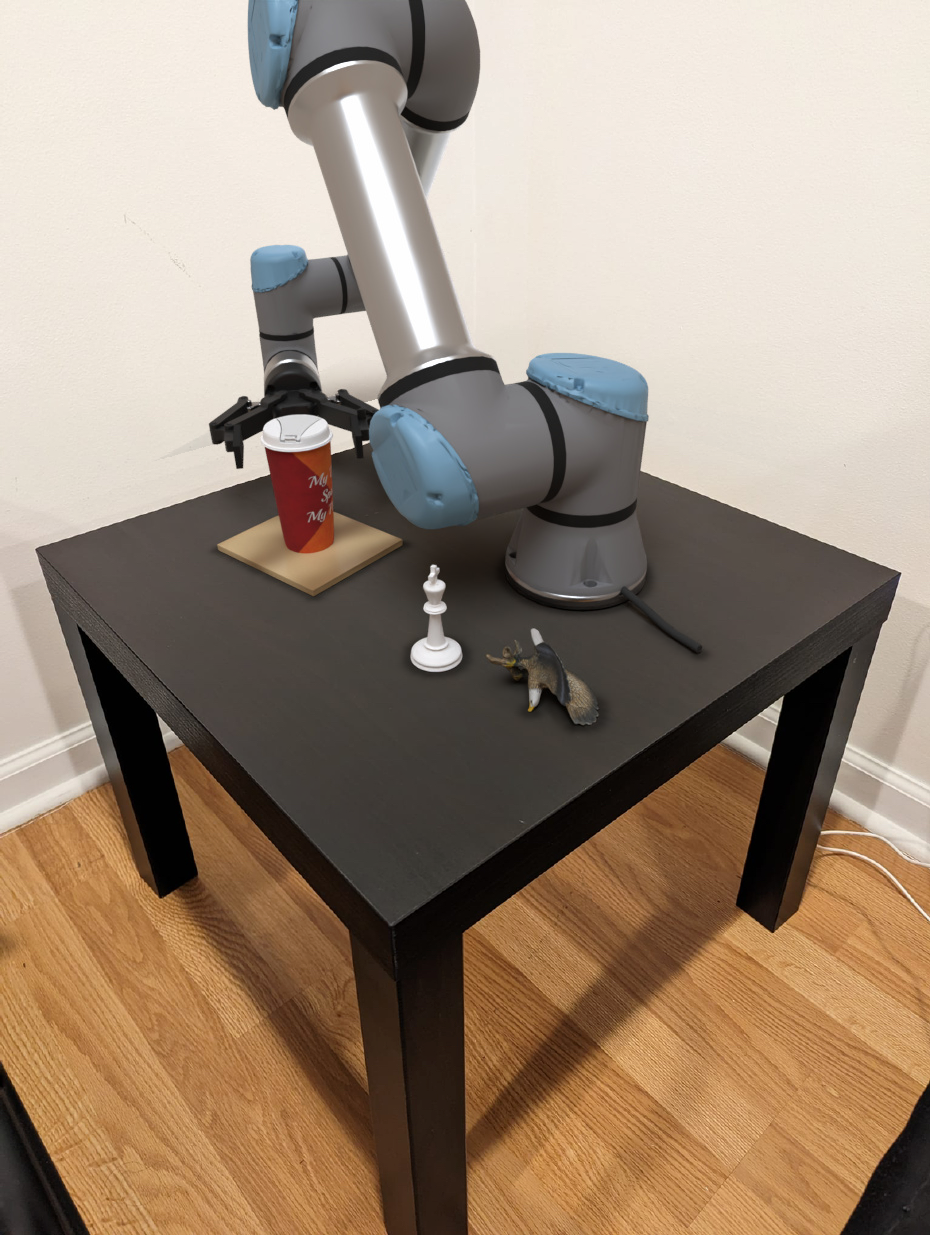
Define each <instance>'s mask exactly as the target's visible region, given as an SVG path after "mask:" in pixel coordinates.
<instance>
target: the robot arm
mask: <svg viewBox="0 0 930 1235" xmlns="http://www.w3.org/2000/svg"><path fill="white" fill-rule="evenodd" d="M247 48H248V59H249V68H250V74H251V80H252V85H253V88H254V92H255V96H256V97H257V100H258V101H259V102H260V103H261V105H262V106H264V107H265V108H270V109H272V110H274V111H275V110H279V108H283V110H284V112H285V115H286V119H287V121H288V124H289V127H290V130H291V132H292V133H293V135H294V136H295V138H297V139H298V140H299V141H301V142H302V143H304V144H306V145H308V146H311V147H313V150H314V154H315V156H316V159H317V163H318V165H319V168H320V172H321V176H322V178H323V181H324V184H325V187H326V190H327V193H328V197H329V200H330V203H331V206H332V209H333V212H334V215H335V219H336V221H337V224H338V228H339V231H340V234H341V237H342V241H343V243H344V244H343V245H344V246H345V250H346V252H347V254H346V255H338V256H330V257H329V256H328V257H320V258H312V259H311V258H310V259H309V258H308V257H307V253H306V251H305V249H304V248H302V247H301V246H298V245H296V244H295V245H294V244H271V245H265V246H261V247H258V248H257V249H255V250H254V251H253V252H252V253H251V255H250V259H249V261H250V263H249V264H250V276H251V277H250V278H251V291H252V293H253V294H252V295H253V300H254V306H255V312H256V319H257V324H258V325H257V326H258V332H259V334H258V337H259V344H260V351H261V358H262V359H261V360H262V366H263V368H262V369H263V397H262V398H261V399H260V401H252V400H251V399H249V397H248V396H246V395H242V396H239V397H238V398H237V401H236V403H234V404H233V405H231V406H230V407H229V408H227V409H226V410H225V411H223V412H222V413H221V414H220V415H218V416H217V417H215V418H214V419H212V420H211V421H210V422H208V428H209V434H210V439H211V444H212V445H217V446H218V445H221V444H222V443H223V444H224V447H225V451H226V453H233V458H234V463H235V469H236V470H241V469H244V456H245V454H244V453H245V445H244V443H245V441H246V440H249V439H250V438H252V437H254V436H255V435H257V434H260V433H261V432H263V428H264V426H265V424H266V423H267V422H269V421H271V420H273V419H275V418H279V417H283V416H288V415H313V416H317V417H320V418H322V419H324V420H326V422H327V423H328V426H332V427H335V428H338V429H341V430H344V431H347V432H350V433H351V439H352V442H353V447H354V451H355V455H356V459H364V458H365V457H364V456H365V455H364V444H363V442H369V445H370V446H371V448H372V452H371V457H372V462H373V465H374V468H375V471H376V474H377V476H378V479H379V481H380V483H381V486H382V488H383V490H384V492H385V493H386V495H387V497H388V499H389V500H390V502H391V503H392V505H393V507H394V508H395V509H396V510H397V511H398V513H399V514H400V515H401V516H402V517H404V518H405V519H406V520H407V521H408V522H410V524H412V525H414V526H415V527H418V528H420V529H425V530H439V529H443V528H448V527H454V526H459V527H460V526H461V527H463V526H468V525H470V524H471V523H473V522H475V521H477V520H481V519H486V518H489V517H493V516H497V515H500V514H504V513H505V514H506V513H509V512H512V511H517V510H521V509H522V510H521V513H520V514H519V517H518V520H517V522H516V525H515V528H514V530H513V533H512V535H511V538H510V540H509V543H508V545H507V549H506V552H505V557H504V558H505V559H504V560H505V561H504V573H505V577H506V580H507V581H508V583H509V584H510V585H511V587H512V588H513V589H514V590H515V591H516V592H518V593H519V594H521V595H522V596H524V597H526V598H528V599H529V600H530V601H534V602H536V603H538V604H541V605H545V606H549V607H553V608H557V609H564V610H573V611H574V610H575V611H577V610H578V611H584V610H585V611H587V610H590V611H591V610H599V609H600V610H601V609H605V608H609V607H614V606H617V605H619V604H622V603H625V602H626V601H629V602H630V603H631V604H633V605H634V606H635V607H636V608H637V609H638V610H640V611H641V612H642V613H643V614H644V615H645V616H646V617H647V618H649V619H650V620H651V621H652V622H653V623H654V624H655V625H656V626H657V627H658V628H659V629H661V630H662V631H663V632H665V633H666V634H667V635H669V636H670V637H671V638H673V639H674V640H676V641H678V642H679V643H681V644H682V645H684V646H685V647H687V648H689V649H691V650H692V651H693V652H695V653H697V654H699V653H700V652H701V651H702V649H703V645H702V644H700V643H698V642H697V641H695V640H694V639H692V638H690V637H689V636H688V635H685V634H684V633H682V632H680V631H679V630H678V629H676V628H675V627H674V626H672V625H671V624H670V623H668V622H667V621H666V620H665V619H663V618H662V617H661V616H660V615H659V614H658V613H657V612H656V611H655V610H654V609H653V608H651V607H650V606H649V605H648V604H647V603H646V602H645V601H643V600H642V599H641V598H640V597H638V595H637V594H639V592H640V591H641V590H642V589H643V587H644V586H645V583H646V578H647V570H648V561H647V560H648V559H647V554H646V550H645V547H644V542H643V538H642V533H641V528H640V525H639V519H638V516H637V505H638V495H639V486H640V480H641V479H640V478H641V470H642V469H641V468H642V461H643V455H644V454H643V453H644V445H645V439H646V431H647V425H648V424H647V423H648V422H649V418H650V416H649V414H648V404H649V385H648V382H647V380H646V378H645V376H644V375H642V373H641V372H639V371H638V370H637V369H635V368H634V367H631V366H630V365H628V364H625V363H623V362H620V361H617V360H614V359H610V358H607V357H601V356H597V355H592V354H585V353H578V352H577V353H575V352H547V353H542V354H538V355H536V356H535V357H533V358H532V359H531V360H529V362H528V367H527V368H526V371H525V374H526V376H527V379H526V380H524V381H518V382H514V383H507V384H505V382H504V380H503V377H502V375H501V372H500V368H499V366H498V362H497V359H496V358H495V357H494V356H493V355H492V354H489V353H487V352H485V351H484V350H483V351H482V350H480V349H478V348H477V347H475V344H474V342H473V338H472V335H471V333H470V330H469V326H468V323H467V320H466V317H465V315H464V311H463V308H462V304H461V301H460V298H459V296H458V292H457V289H456V286H455V283H454V280H453V277H452V274H451V271H450V266H449V264H448V261H447V258H446V255H445V253H444V249H443V245H442V243H441V239H440V237H439V234H438V231H437V228H436V227H437V226H436V224H435V221H434V218H433V215H432V212H431V209H430V206H429V203H428V198H429V196H430V194H431V191H432V188H433V185H434V182H435V180H436V177H437V174H438V171H439V169H440V166H441V163H442V161H443V158H444V156H445V154H446V150H447V147H448V144H449V143H450V140H451V136H452V134H453V132H455V131H457V130H459V129H460V128H461V127H462V126H464V125H465V123H466V122H467V119H468V118H469V115H470V112H471V110H472V107H473V104H474V103H475V98H476V96H477V92H478V87H479V82H480V75H481V46H480V40H479V35H478V30H477V26H476V22H475V19H474V17H473V15H472V12H471V9H470V7H469V5H468V2H467V1H466V0H248V2H247ZM360 312H366V315H367V318H368V321H369V322H368V323H369V325H370V328H371V330H372V335H373V337H374V340H375V343H376V346H377V349H378V352H379V356H380V359H381V362H382V365H383V369H384V372H385V375H386V379H385V381H384V383H383V385H382V387H381V388H380V390H379V393H378V395H377V403H378V405H379V408H377V407H374V406H373V405H371V404H369V403H367V402H366V401H363V400H361V399H359V398H357V397H355V396H353V395H351V394H350V393H349V391H348V390H347V389H345V388H339V389H338V390H337V392H336V393H335V394H334V396H333V395H332V396H328V395H327V394H326V393H324V392H323V389H322V382H321V378H320V373H319V368H318V357H317V349H316V348H317V347H316V341H315V340H316V338H315V328H314V320H315V319H317V318H325V317H331V316H339V315H346V314H351V313H352V314H353V313H360Z"/></svg>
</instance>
